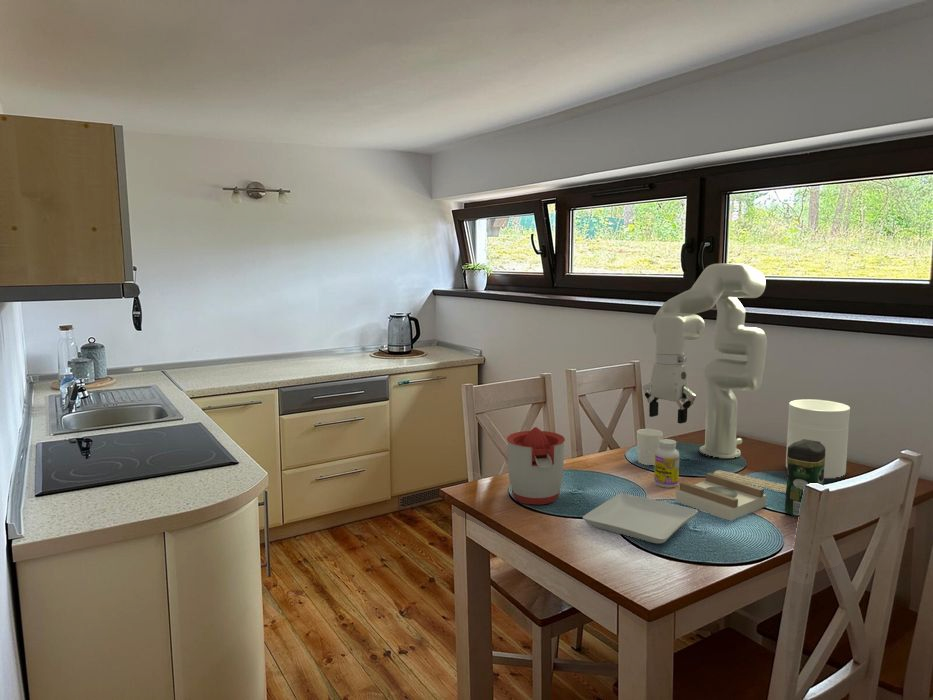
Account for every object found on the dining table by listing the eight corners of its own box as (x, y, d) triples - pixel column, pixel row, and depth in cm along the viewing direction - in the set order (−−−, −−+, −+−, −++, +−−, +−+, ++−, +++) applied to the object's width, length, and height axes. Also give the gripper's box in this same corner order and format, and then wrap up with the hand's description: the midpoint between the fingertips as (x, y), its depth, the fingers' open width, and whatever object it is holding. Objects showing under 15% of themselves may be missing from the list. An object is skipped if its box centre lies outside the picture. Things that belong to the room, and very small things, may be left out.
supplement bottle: (650, 484, 182) (651, 441, 180) (660, 478, 187) (661, 436, 185) (672, 490, 178) (673, 445, 176) (682, 483, 183) (683, 440, 181)
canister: (857, 472, 189) (862, 407, 186) (822, 481, 182) (826, 413, 179) (808, 458, 203) (811, 397, 201) (774, 466, 196) (777, 403, 194)
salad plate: (580, 529, 154) (580, 515, 154) (620, 503, 170) (620, 490, 170) (664, 553, 140) (664, 539, 140) (699, 522, 157) (699, 509, 156)
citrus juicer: (515, 513, 163) (515, 438, 161) (502, 490, 180) (501, 421, 178) (574, 509, 166) (574, 434, 163) (555, 486, 183) (555, 418, 180)
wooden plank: (711, 479, 188) (711, 473, 188) (721, 473, 193) (721, 467, 193) (796, 499, 172) (796, 492, 171) (805, 492, 176) (805, 485, 176)
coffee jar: (792, 503, 166) (796, 435, 164) (825, 511, 161) (830, 440, 158) (779, 514, 160) (783, 443, 157) (814, 523, 154) (818, 449, 152)
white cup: (665, 466, 198) (665, 435, 197) (639, 466, 198) (640, 435, 197) (657, 458, 206) (658, 428, 205) (633, 458, 206) (634, 428, 205)
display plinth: (711, 488, 178) (712, 471, 177) (766, 506, 165) (767, 487, 164) (675, 501, 169) (676, 483, 168) (730, 521, 156) (730, 501, 155)
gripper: (704, 362, 172) (702, 423, 175) (653, 355, 186) (651, 412, 189) (687, 364, 168) (685, 427, 170) (636, 357, 182) (634, 415, 184)
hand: (667, 419), depth 180 cm, fingers open, 9 cm apart
